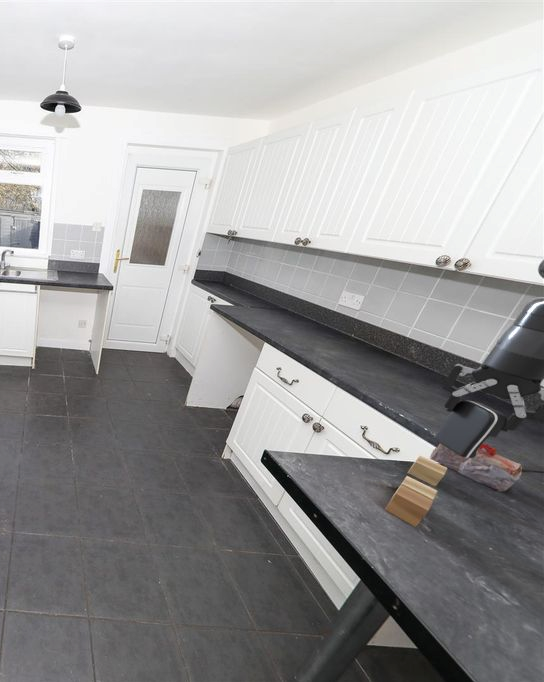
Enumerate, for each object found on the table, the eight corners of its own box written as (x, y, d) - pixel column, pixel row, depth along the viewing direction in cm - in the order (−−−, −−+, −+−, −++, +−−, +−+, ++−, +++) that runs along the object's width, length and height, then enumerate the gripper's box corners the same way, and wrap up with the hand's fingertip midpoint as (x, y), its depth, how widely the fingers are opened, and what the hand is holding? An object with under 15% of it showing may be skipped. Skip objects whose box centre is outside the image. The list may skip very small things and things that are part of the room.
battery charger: (481, 461, 71) (516, 417, 67) (462, 458, 71) (496, 414, 67) (448, 440, 77) (478, 399, 73) (430, 437, 78) (459, 396, 73)
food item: (505, 487, 86) (532, 458, 82) (501, 499, 82) (529, 468, 78) (430, 454, 96) (450, 426, 93) (423, 462, 92) (444, 434, 89)
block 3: (390, 500, 78) (401, 485, 76) (420, 517, 74) (433, 501, 72) (384, 509, 75) (396, 493, 73) (415, 527, 71) (428, 510, 69)
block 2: (396, 491, 81) (407, 475, 79) (425, 506, 77) (437, 490, 75) (390, 499, 78) (402, 483, 76) (421, 515, 74) (433, 499, 72)
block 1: (409, 469, 89) (419, 455, 87) (436, 482, 85) (447, 467, 83) (404, 476, 86) (415, 461, 84) (432, 490, 82) (444, 474, 81)
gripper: (591, 362, 62) (530, 434, 68) (472, 335, 72) (430, 399, 79) (594, 370, 58) (530, 445, 64) (468, 340, 68) (424, 407, 75)
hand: (475, 419), depth 71 cm, fingers closed on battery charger, 7 cm apart
